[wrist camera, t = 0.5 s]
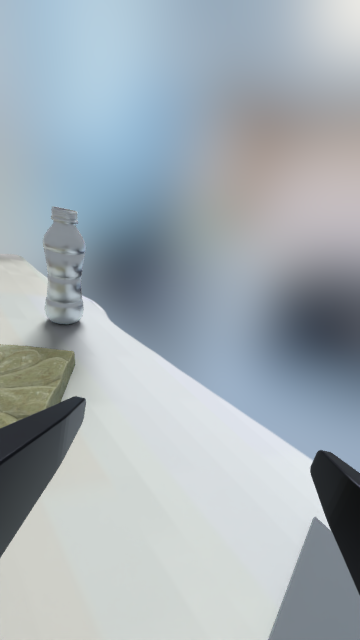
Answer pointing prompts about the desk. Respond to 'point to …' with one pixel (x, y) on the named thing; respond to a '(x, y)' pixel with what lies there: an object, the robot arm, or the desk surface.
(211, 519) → the desk surface
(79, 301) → the plastic bottle
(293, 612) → the mat
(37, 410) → the decorative tile
